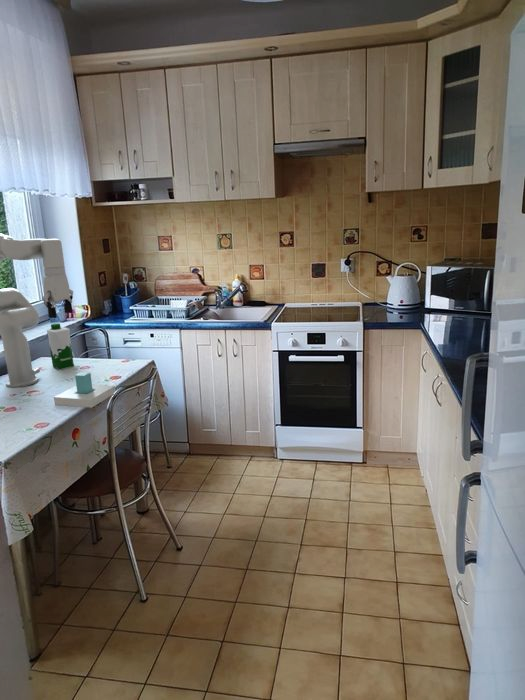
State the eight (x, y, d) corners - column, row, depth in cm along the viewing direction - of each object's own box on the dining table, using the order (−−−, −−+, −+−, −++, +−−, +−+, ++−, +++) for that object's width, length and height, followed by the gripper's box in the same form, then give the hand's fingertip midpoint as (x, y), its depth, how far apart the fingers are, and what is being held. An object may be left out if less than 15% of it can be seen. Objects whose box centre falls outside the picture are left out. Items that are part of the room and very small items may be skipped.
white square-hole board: (89, 385, 218) (88, 378, 217) (123, 388, 213) (123, 381, 213) (54, 404, 198) (53, 397, 197) (91, 407, 193) (90, 399, 192)
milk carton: (67, 362, 254) (62, 322, 249) (76, 366, 248) (71, 324, 243) (50, 367, 248) (43, 325, 243) (59, 370, 242) (52, 327, 237)
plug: (84, 396, 205) (81, 372, 203) (93, 397, 204) (90, 372, 201) (78, 400, 201) (75, 375, 199) (87, 400, 200) (84, 375, 198)
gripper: (61, 269, 213) (66, 311, 217) (31, 274, 197) (38, 319, 201) (77, 269, 211) (82, 311, 215) (48, 274, 195) (54, 320, 199)
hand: (61, 315), depth 208 cm, fingers open, 9 cm apart
